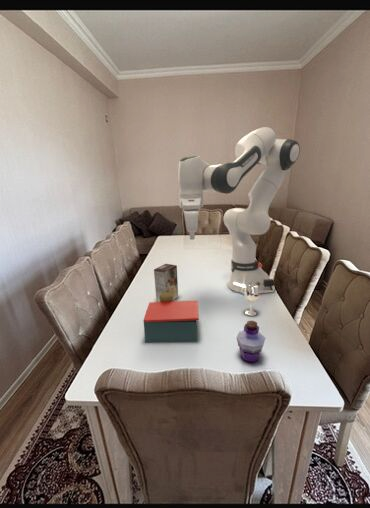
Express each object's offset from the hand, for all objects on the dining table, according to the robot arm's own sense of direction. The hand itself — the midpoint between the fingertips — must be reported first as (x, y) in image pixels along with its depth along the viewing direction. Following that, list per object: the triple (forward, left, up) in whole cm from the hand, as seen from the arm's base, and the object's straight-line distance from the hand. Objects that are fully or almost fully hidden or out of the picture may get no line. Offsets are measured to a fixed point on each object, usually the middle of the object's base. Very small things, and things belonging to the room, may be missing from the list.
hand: (192, 238), depth 97 cm
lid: (+8, +16, -23) cm, 29 cm away
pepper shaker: (+11, +8, -31) cm, 33 cm away
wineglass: (-23, +4, -31) cm, 39 cm away
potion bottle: (-17, +30, -31) cm, 46 cm away
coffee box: (+12, -9, -31) cm, 34 cm away
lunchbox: (+8, +16, -31) cm, 36 cm away
